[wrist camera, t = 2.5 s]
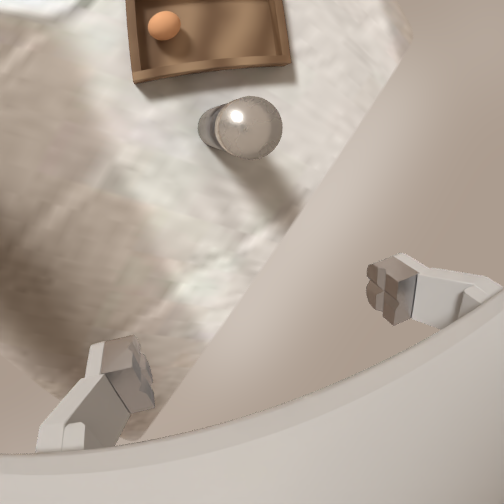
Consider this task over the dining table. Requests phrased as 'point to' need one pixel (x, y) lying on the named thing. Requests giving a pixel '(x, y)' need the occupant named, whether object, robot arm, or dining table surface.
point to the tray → (207, 37)
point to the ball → (164, 25)
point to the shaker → (242, 127)
